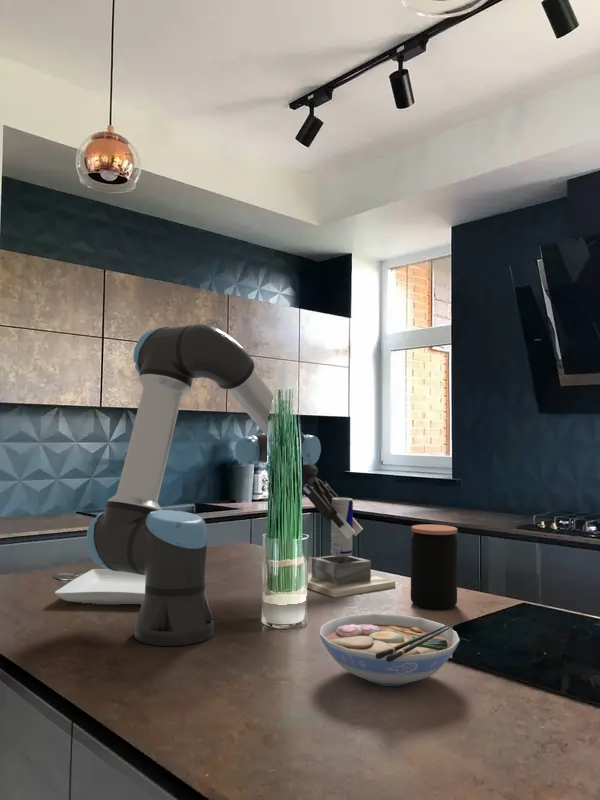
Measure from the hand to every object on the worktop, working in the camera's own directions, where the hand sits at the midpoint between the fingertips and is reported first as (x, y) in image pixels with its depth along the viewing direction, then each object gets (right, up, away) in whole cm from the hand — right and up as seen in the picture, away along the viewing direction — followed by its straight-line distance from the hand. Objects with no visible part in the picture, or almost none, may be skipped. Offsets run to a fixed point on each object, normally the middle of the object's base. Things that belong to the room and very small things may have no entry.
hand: (355, 533), depth 174 cm
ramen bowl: (0, -10, -66) cm, 67 cm away
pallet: (-4, -13, 0) cm, 14 cm away
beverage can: (-4, -6, +1) cm, 7 cm away
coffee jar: (+17, -13, -19) cm, 29 cm away
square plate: (-56, -13, -13) cm, 59 cm away
